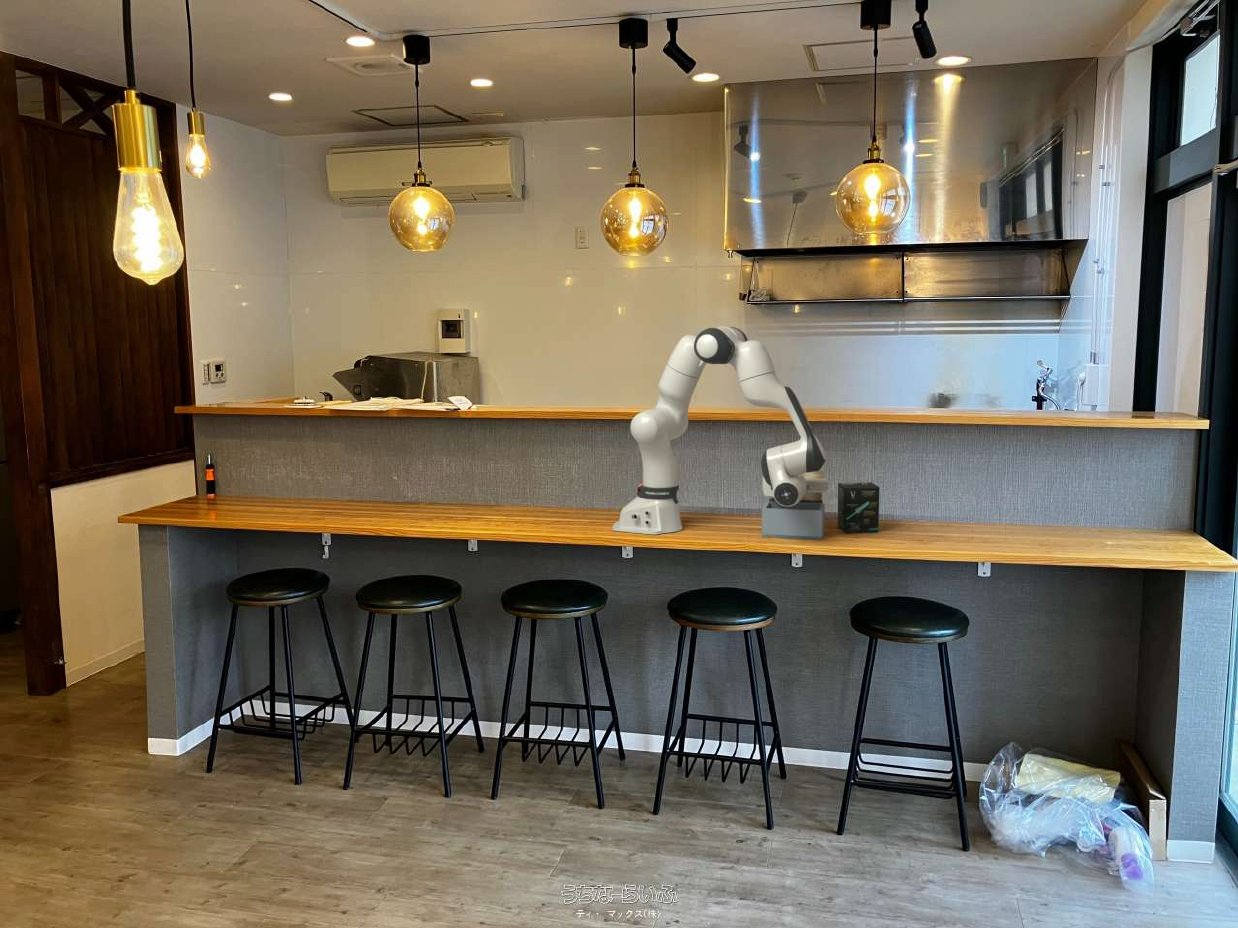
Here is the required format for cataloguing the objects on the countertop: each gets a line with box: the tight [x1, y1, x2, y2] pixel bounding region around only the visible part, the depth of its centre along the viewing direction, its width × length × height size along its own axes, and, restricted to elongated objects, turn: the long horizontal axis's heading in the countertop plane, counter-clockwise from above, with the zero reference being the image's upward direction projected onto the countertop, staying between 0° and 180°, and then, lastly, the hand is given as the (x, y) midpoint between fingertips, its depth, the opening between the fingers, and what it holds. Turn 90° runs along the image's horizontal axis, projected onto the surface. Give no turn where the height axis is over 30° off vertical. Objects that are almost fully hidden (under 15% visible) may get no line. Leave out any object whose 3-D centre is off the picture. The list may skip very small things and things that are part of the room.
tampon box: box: [837, 481, 880, 534], centre depth 300 cm, size 11×9×15 cm
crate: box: [761, 500, 826, 541], centre depth 295 cm, size 18×12×9 cm, turn 74°
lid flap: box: [768, 464, 825, 504], centre depth 304 cm, size 17×1×17 cm
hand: (796, 480), depth 303 cm, fingers closed, pressing on lid flap
